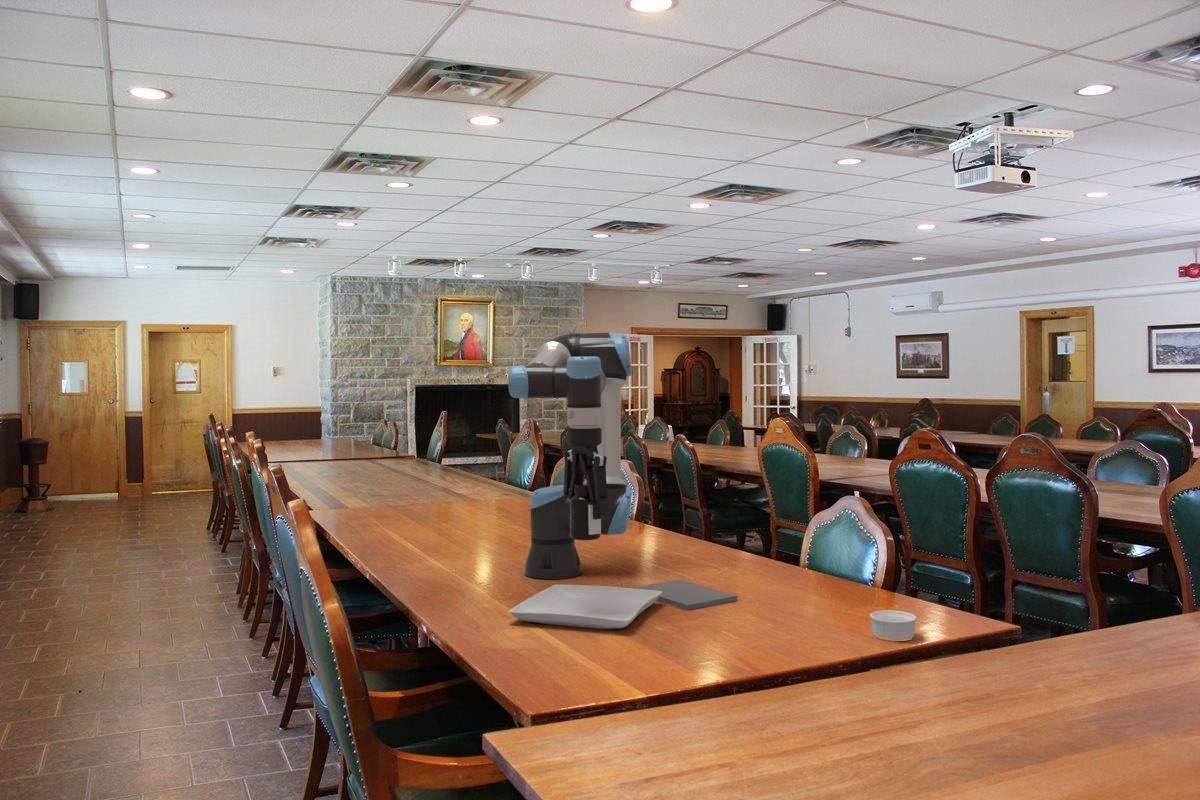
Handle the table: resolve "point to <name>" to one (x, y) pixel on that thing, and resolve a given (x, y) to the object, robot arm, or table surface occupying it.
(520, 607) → the square plate
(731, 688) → the table surface
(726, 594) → the folder
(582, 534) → the supplement bottle
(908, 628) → the ramekin
